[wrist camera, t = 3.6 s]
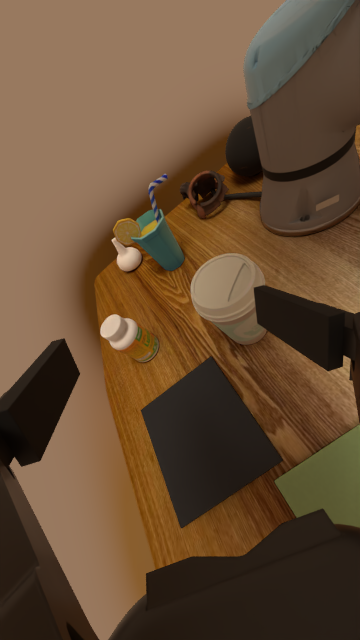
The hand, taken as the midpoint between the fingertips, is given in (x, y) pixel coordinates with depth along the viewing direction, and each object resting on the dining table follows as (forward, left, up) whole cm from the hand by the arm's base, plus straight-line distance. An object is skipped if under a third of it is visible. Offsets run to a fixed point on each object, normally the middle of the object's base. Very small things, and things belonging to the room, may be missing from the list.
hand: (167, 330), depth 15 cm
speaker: (-37, +31, -19) cm, 52 cm away
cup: (-31, +5, -19) cm, 37 cm away
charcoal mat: (+1, -8, -19) cm, 21 cm away
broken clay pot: (-39, +19, -19) cm, 48 cm away
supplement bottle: (-16, -10, -19) cm, 27 cm away
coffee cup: (-7, +6, -19) cm, 22 cm away
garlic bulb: (-41, -4, -19) cm, 46 cm away
